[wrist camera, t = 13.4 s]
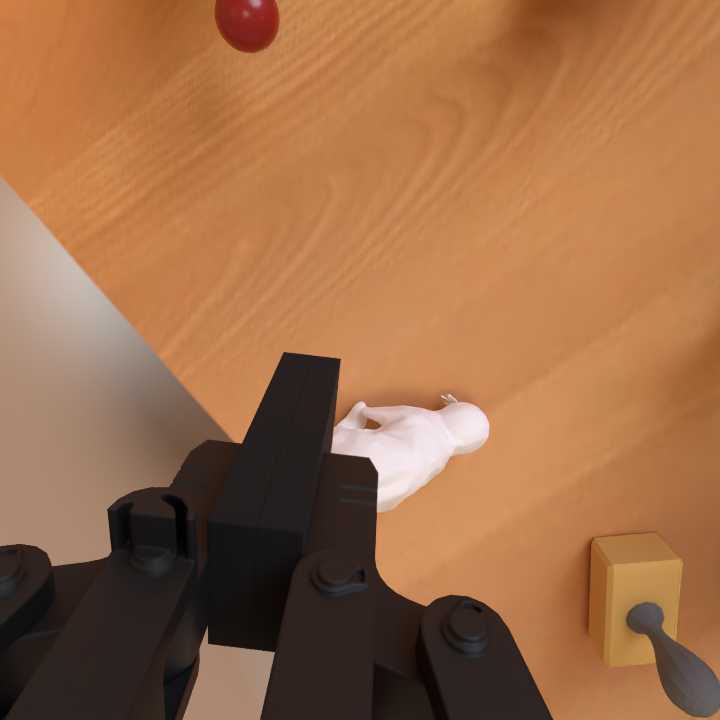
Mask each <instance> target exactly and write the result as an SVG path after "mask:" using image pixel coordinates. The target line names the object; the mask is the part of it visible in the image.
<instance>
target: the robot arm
mask: <svg viewBox="0 0 720 720" xmlns="http://www.w3.org/2000/svg"><path fill="white" fill-rule="evenodd" d="M340 360H341V359H337V358H329V357H320V356H312V355H304V354H295V353H287V352H284V353H283V355H282V357H281V360H280V362H279V364H278V366H277V368H276V370H275V373H274V375H273V377H272V379H271V381H270V384H269V386H268V388H267V390H266V392H265V394H264V397H263V399H262V401H261V403H260V405H259V408H258V410H257V412H256V414H255V416H254V419H253V421H252V423H251V425H250V427H249V429H248V432H247V434H246V436H245V438H244V440H243V443H242V444H240V443H231V442H223V441H215V440H207V441H205V442H204V443H202V444H201V445H199V446H198V447H196V448H195V449H194V450H192V451H191V452H190V453H189V455H188V456H187V458H186V460H185V461H184V463H183V465H182V466H181V470H180V471H179V472H178V473H177V475H176V477H175V478H174V480H173V484H171V485H170V486H169V488H168V487H161V488H160V487H157V488H155V487H150V488H146V489H142V490H138V491H133V492H132V493H129V494H127V495H125V496H123V497H121V498H120V499H118V500H117V501H116V502H115V503H114V504H112V505H111V506H110V507H109V508H108V509H107V511H108V520H109V529H110V540H111V549H112V552H111V553H110V555H109V556H108V557H106V558H103V559H99V560H95V561H90V562H84V563H76V564H68V565H60V566H52V565H51V562H50V559H49V557H48V555H47V553H46V552H44V551H43V550H41V549H39V548H38V547H36V546H30V545H23V544H16V545H7V546H0V720H182V719H183V716H184V714H185V711H186V708H187V705H188V702H189V699H190V696H191V693H192V690H193V687H194V684H195V682H196V679H197V676H198V670H199V662H200V660H199V659H200V657H199V656H200V655H199V648H200V645H201V642H202V640H203V637H204V634H205V631H206V629H207V626H208V644H213V645H221V646H230V647H238V648H246V649H254V650H262V651H271V652H275V655H274V660H273V664H272V669H271V673H270V678H269V683H268V687H267V691H266V696H265V700H264V705H263V710H262V714H261V718H260V720H553V718H552V716H551V714H550V712H549V710H548V708H547V706H546V704H545V702H544V700H543V698H542V696H541V694H540V692H539V690H538V688H537V685H536V683H535V681H534V679H533V677H532V675H531V673H530V671H529V669H528V667H527V665H526V663H525V661H524V659H523V657H522V655H521V653H520V651H519V649H518V647H517V645H516V643H515V641H514V639H513V636H512V634H511V632H510V630H509V628H508V627H507V625H506V624H505V623H504V621H503V620H502V618H501V617H500V616H499V614H498V613H496V612H495V611H494V610H492V609H491V608H490V607H489V606H487V605H486V604H485V603H483V602H480V601H478V600H475V599H473V598H470V597H468V596H457V595H449V596H445V597H441V598H438V599H436V600H434V601H433V602H432V603H431V604H429V605H428V606H427V607H426V606H423V605H421V604H418V603H416V602H413V601H411V600H409V599H407V598H405V597H403V596H401V595H399V594H397V593H396V592H395V591H393V590H392V589H391V588H390V587H388V586H387V585H386V583H385V582H384V581H383V580H382V578H381V577H380V575H379V573H378V571H377V568H376V563H375V544H376V520H377V496H378V493H377V492H378V471H377V470H376V468H375V466H374V464H373V463H372V461H371V459H370V458H369V457H361V456H353V455H344V454H336V453H331V448H332V440H333V430H334V420H335V410H336V400H337V390H338V380H339V370H340Z"/></svg>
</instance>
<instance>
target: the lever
mask: <svg viewBox="0 0 720 720" xmlns="http://www.w3.org/2000/svg"><path fill="white" fill-rule="evenodd" d="M215 20H216V24H217V27H218V30H219V32H220V34H221V35H222V37H223V38H224V39H225V41H226V42H227V43H228V44H229V45H230V46H232V47H233V48H235V49H236V50H239V51H241V52H245V53H256V52H260V51H262V50H264V49H265V48H267V47H268V46H269V45H270V44H271V43H272V42H273V40H274V39H275V37H276V35H277V32H278V28H279V11H278V7H277V4H276V1H275V0H216V4H215Z"/></svg>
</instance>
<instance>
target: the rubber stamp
mask: <svg viewBox="0 0 720 720" xmlns="http://www.w3.org/2000/svg"><path fill="white" fill-rule="evenodd" d="M682 565H683V562H682V560H681V559H680V558H679V557H678V555H677V554H676V553H675V552H674V551H673V550H672V549H671V548H670V546H669V545H668V544H667V543H666V542H665V541H664V540H663V539H662V538H661V537H660V536H659V535H658V534H657V533H656V532H652V533H640V534H629V535H618V536H606V537H595V538H593V541H592V543H591V569H590V600H589V632H588V634H589V637H590V638H591V640H592V642H593V644H594V646H595V648H596V650H597V652H598V654H599V655H600V657H601V659H602V661H603V662H604V663H605V664H606V665H607V666H608V667H619V666H631V665H643V664H655V663H656V664H657V669H658V673H659V677H660V680H661V683H662V686H663V689H664V691H665V693H666V694H667V696H668V698H669V699H670V700H671V701H672V702H673V703H674V704H675V705H676V706H677V707H678V708H680V709H681V710H682V711H684V712H685V713H687V714H688V715H691V716H693V717H701V718H706V717H710V716H712V715H714V714H715V713H716V712H718V710H719V708H720V684H719V681H718V679H717V677H716V675H715V674H714V672H713V671H712V670H711V668H710V667H709V666H708V665H707V664H706V663H705V662H703V661H702V660H701V659H700V658H698V657H697V656H696V655H695V654H693V653H692V652H691V651H689V650H688V649H686V648H685V647H683V646H682V645H680V644H678V643H677V642H676V633H677V622H678V611H679V599H680V588H681V577H682Z"/></svg>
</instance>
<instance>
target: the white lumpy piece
mask: <svg viewBox="0 0 720 720" xmlns="http://www.w3.org/2000/svg"><path fill="white" fill-rule="evenodd" d="M448 395H449V396H448ZM448 395H447V396H448V397H449V399H450V400H451V401H450V400H449V399H447V398H446V397H444V396H442V398H444V399H445V400H447V401H448V402H449V404H448V403H446V404H447V405H449V406H446V407H445V408H443V409H441V410H437V411H431V410H427V409H424V408H418V407H411V406H405V405H401V406H394V407H366V405H365V403H364V402H358V403H356V404H355V405H354V406H353V408H352V409H351V411H350V412H349V413H348V415H347V416H346V417H345V419H343V420H341V421H340V422H339V423H338V425H336V426H335V427H334V430H333V440H332V448H331V453H336V454H344V455H353V456H361V457H369V458H370V459H371V461H372V463H373V464H374V466H375V468H376V470H377V471H378V492H377V493H378V496H377V513H381V512H385V511H390V510H392V509H394V508H395V507H396V506H397V505H398V504H399V503H400V502H402V501H403V500H404V499H406V498H407V497H409V496H410V495H412V494H413V493H415V492H416V491H417V490H418V489H419V488H420V487H423V486H425V485H426V484H427V482H429V481H431V480H432V479H433V478H435V477H436V476H437V475H438V474H439V473H440V472H441V471H442V470H443V469H444V467H445V465H446V463H447V462H448V460H449V458H450V457H451V456H459V455H466V454H469V453H472V452H474V451H476V450H477V449H479V448H480V447H481V446H482V445H483V444H484V443H485V442H486V440H487V438H488V436H489V423H488V419H487V417H486V416H485V414H484V413H483V412H482V411H481V410H480V409H479V408H478V407H477V406H475V405H473V404H470V403H464V402H461V403H458V402H457V400H456V399H455V398H454V397H452V396H451V395H450V394H448ZM444 402H445V401H444ZM441 403H442V402H441ZM450 404H451V405H450ZM368 418H369V419H372V420H374V421H376V422H378V423H379V424H380V425H381V426H380V428H379V429H376V430H372V429H364V428H365V426H366V424H367V419H368Z"/></svg>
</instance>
